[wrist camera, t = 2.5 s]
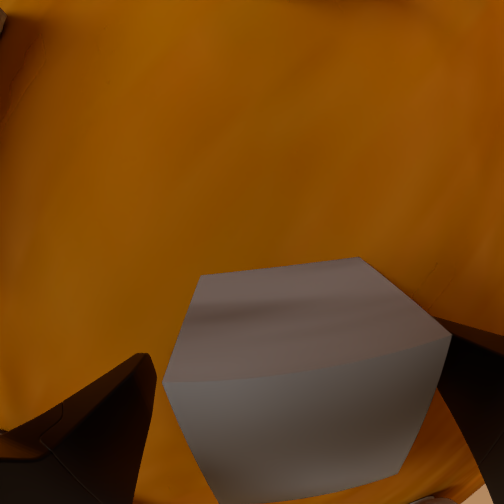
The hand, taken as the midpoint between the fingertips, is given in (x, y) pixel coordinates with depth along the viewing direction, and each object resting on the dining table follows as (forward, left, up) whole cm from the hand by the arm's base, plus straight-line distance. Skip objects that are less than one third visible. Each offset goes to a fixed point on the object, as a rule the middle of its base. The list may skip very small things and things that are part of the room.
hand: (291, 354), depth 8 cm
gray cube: (0, 0, -1) cm, 1 cm away
